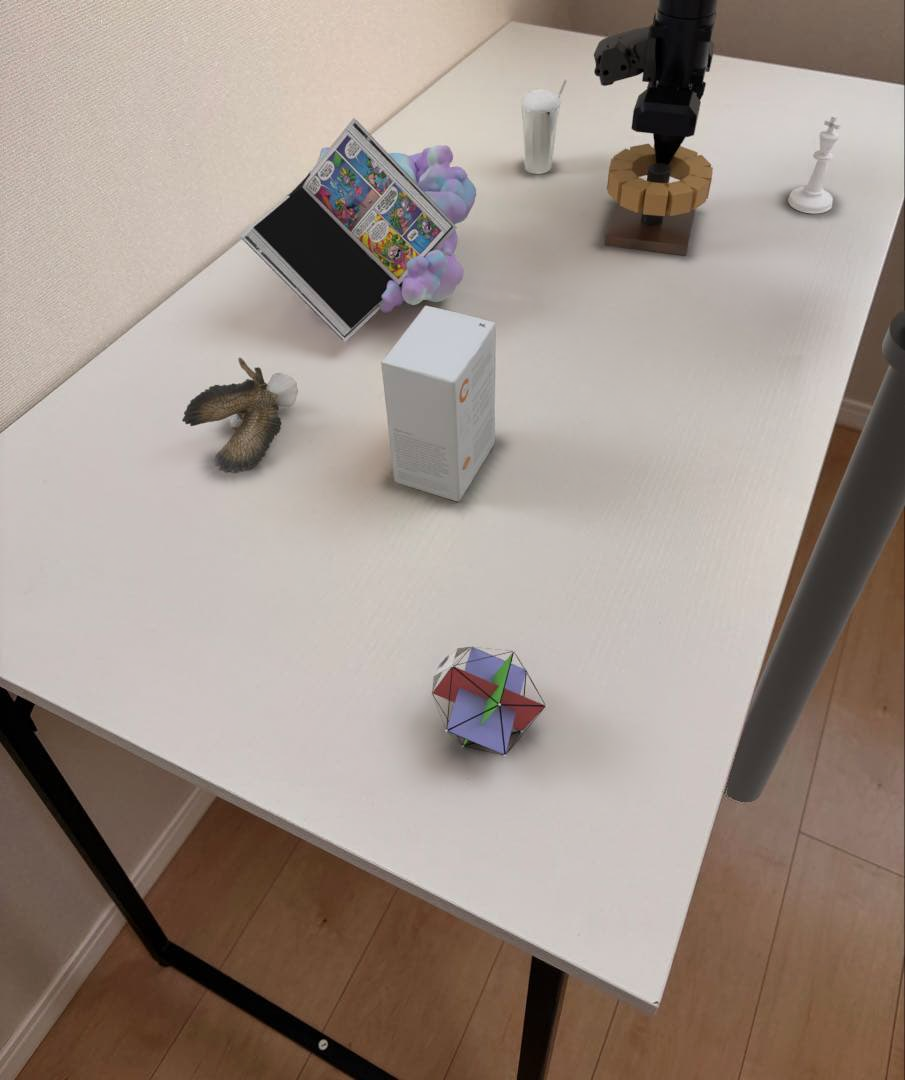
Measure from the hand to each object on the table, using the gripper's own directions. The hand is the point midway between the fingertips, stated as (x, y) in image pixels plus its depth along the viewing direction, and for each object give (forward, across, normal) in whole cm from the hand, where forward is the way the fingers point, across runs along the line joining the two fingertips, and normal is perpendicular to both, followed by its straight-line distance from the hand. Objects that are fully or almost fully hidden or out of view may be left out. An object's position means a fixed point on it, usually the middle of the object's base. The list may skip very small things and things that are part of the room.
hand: (663, 161), depth 104 cm
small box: (+6, +46, -12) cm, 48 cm away
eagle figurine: (+6, +47, -30) cm, 56 cm away
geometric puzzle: (+6, +70, -2) cm, 70 cm away
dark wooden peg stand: (+6, +4, 0) cm, 7 cm away
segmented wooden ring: (+1, +4, 0) cm, 4 cm away
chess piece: (+6, -6, +17) cm, 19 cm away
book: (+6, +22, -26) cm, 35 cm away
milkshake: (+6, -7, -15) cm, 18 cm away
